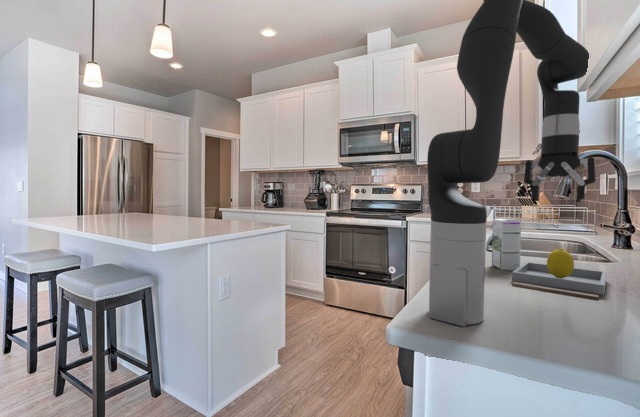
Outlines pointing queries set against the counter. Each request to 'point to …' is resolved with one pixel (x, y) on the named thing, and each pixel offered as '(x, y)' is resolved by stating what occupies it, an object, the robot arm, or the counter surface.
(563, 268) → the lemon
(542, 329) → the counter surface
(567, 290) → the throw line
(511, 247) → the syrup box
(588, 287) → the tray
